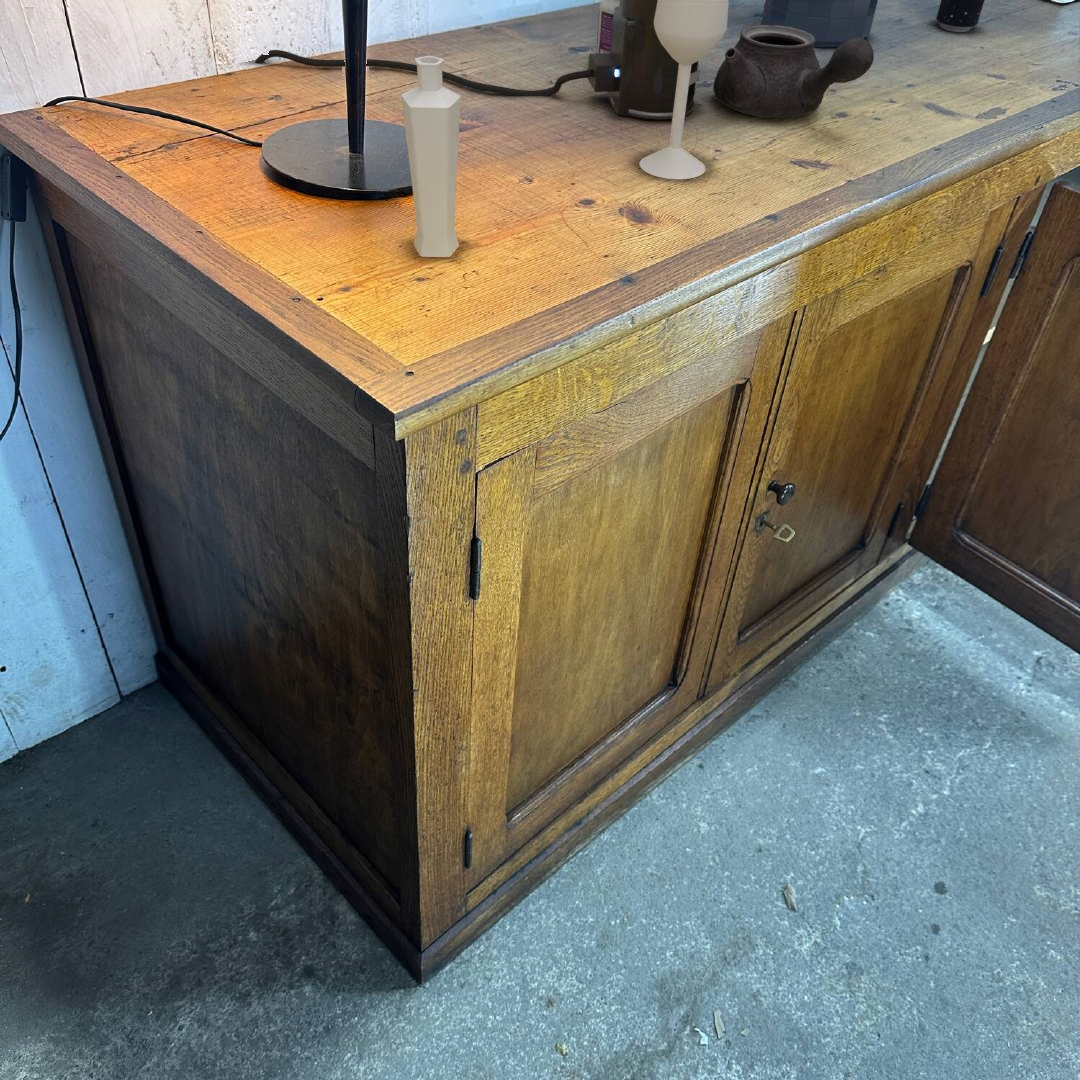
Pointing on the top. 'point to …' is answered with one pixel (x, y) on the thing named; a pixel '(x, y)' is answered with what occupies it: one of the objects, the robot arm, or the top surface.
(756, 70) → the teapot
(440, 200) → the beige faceted vase
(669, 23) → the champagne flute
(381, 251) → the top surface
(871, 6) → the bowl
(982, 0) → the beverage can
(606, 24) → the pill bottle
